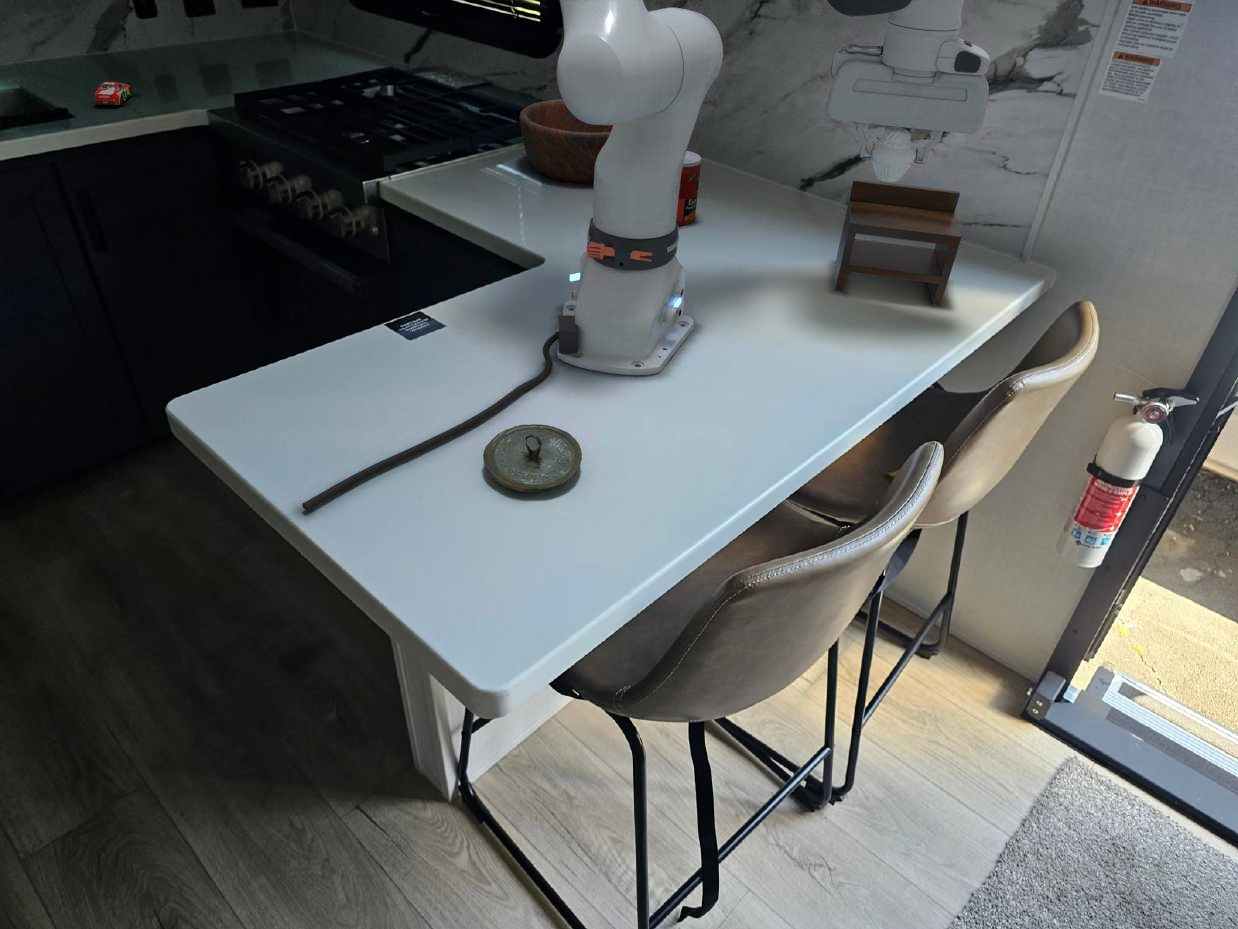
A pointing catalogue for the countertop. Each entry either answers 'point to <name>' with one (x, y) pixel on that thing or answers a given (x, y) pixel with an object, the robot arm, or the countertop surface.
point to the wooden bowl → (561, 141)
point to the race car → (112, 93)
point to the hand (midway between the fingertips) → (892, 159)
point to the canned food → (688, 188)
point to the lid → (532, 457)
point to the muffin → (893, 155)
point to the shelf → (899, 234)
